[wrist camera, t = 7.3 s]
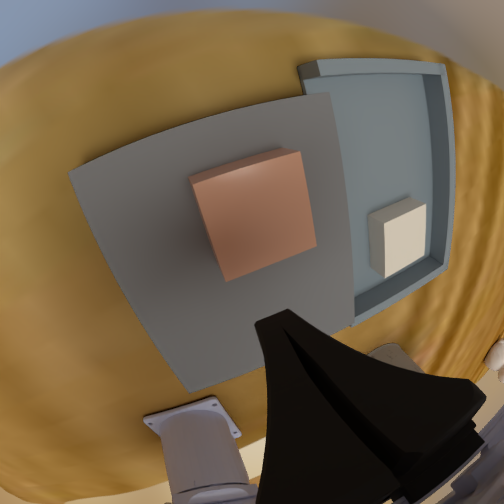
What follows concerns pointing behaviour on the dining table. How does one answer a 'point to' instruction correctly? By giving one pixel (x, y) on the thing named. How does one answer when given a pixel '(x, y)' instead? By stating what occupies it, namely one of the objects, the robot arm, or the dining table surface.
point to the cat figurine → (496, 359)
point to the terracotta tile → (255, 211)
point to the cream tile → (397, 235)
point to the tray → (391, 160)
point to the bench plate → (198, 245)
